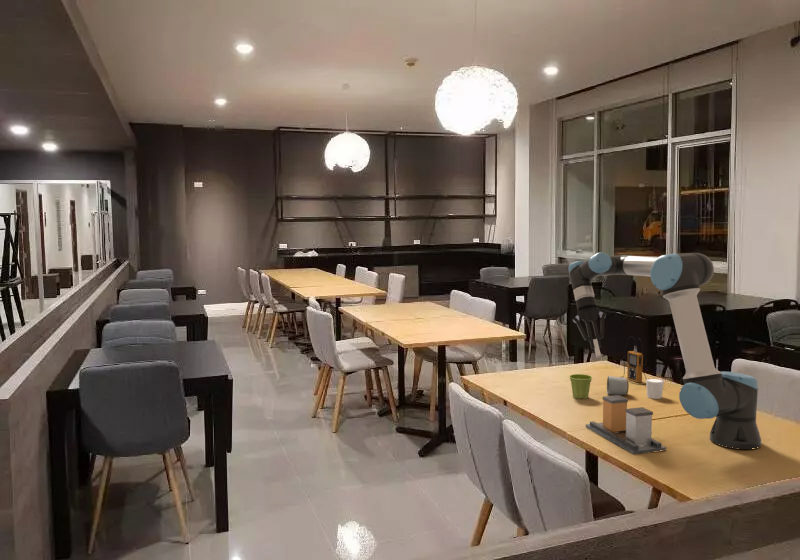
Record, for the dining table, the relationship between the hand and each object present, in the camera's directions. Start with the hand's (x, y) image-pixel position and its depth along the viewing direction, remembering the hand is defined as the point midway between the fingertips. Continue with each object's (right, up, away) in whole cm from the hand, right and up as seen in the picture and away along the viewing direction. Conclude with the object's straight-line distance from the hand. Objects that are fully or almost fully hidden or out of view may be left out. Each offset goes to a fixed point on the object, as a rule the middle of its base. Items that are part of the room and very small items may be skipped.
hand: (598, 356), depth 250 cm
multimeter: (+28, -17, +48) cm, 58 cm away
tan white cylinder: (+30, -20, +23) cm, 42 cm away
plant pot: (-1, -20, +23) cm, 31 cm away
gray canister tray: (0, -25, -27) cm, 37 cm away
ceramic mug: (+16, -19, +28) cm, 38 cm away
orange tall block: (-1, -22, -22) cm, 32 cm away
